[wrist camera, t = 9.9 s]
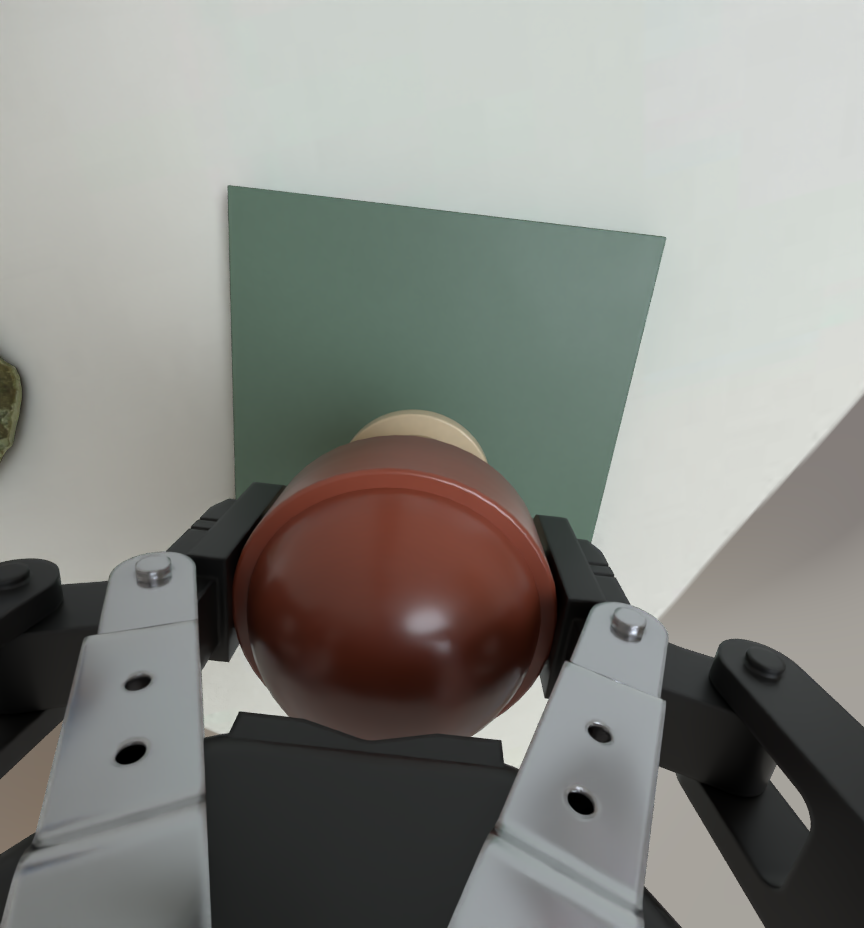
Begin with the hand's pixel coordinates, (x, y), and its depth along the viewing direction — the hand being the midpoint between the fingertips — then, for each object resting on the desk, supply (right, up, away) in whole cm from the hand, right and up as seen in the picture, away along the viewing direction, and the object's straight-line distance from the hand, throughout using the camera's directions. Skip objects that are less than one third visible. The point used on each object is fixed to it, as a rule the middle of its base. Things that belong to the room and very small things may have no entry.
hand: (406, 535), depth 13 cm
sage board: (0, +4, +10) cm, 11 cm away
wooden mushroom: (0, +1, +3) cm, 3 cm away
